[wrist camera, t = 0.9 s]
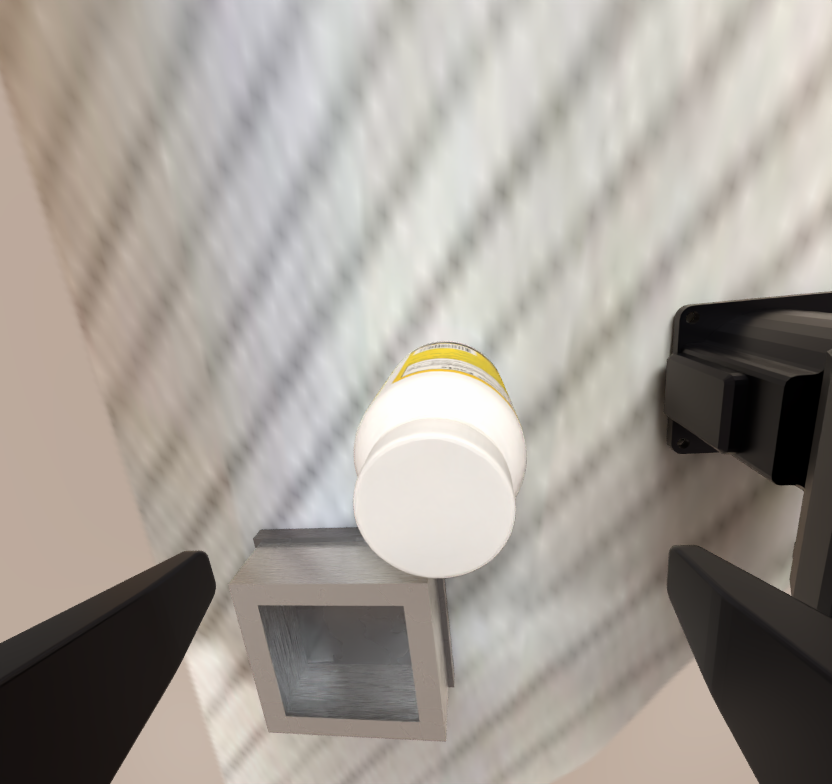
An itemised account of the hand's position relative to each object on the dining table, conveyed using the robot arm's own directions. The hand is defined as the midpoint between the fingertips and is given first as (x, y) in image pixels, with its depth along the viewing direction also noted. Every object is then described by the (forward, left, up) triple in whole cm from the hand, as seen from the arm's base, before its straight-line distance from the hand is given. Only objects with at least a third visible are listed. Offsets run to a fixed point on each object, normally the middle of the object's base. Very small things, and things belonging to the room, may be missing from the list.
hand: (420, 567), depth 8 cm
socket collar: (+6, +12, -12) cm, 18 cm away
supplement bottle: (0, 0, -12) cm, 12 cm away
